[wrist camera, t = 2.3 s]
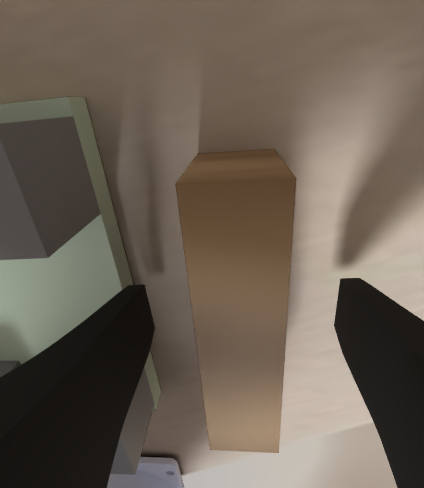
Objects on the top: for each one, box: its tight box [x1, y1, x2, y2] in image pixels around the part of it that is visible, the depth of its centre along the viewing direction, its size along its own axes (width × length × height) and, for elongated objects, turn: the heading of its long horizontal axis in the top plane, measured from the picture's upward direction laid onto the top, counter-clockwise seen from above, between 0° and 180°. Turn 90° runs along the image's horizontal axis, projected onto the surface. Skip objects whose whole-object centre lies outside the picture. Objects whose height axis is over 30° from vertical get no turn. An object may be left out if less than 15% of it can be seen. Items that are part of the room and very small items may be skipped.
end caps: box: [0, 116, 154, 475], centre depth 10 cm, size 13×8×3 cm, turn 5°
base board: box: [0, 97, 161, 410], centre depth 12 cm, size 14×8×1 cm, turn 5°
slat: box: [176, 149, 296, 453], centre depth 10 cm, size 10×2×4 cm, turn 4°
